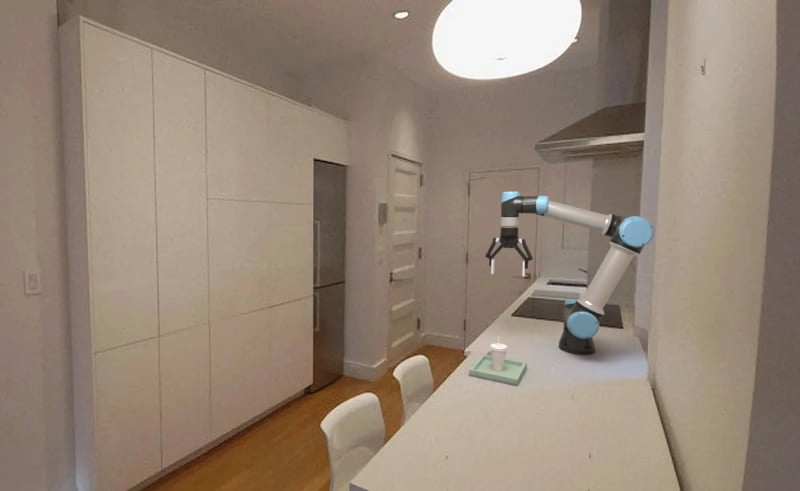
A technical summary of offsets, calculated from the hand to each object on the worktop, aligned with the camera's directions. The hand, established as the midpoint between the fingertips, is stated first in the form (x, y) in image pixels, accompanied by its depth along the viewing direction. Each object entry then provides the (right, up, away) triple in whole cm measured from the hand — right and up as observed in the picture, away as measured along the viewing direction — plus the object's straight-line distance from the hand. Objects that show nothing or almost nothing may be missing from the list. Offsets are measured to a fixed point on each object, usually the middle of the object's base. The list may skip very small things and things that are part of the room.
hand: (508, 274), depth 171 cm
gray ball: (-9, -36, -8) cm, 38 cm away
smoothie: (-10, -36, -20) cm, 42 cm away
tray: (-9, -37, -20) cm, 43 cm away
